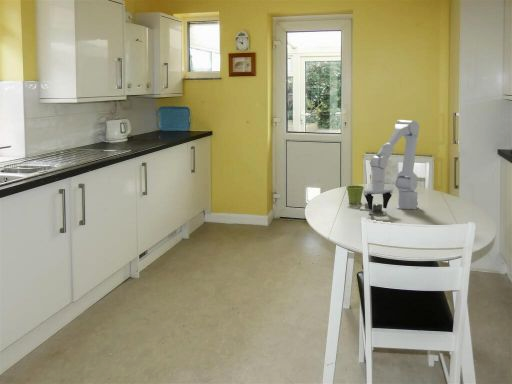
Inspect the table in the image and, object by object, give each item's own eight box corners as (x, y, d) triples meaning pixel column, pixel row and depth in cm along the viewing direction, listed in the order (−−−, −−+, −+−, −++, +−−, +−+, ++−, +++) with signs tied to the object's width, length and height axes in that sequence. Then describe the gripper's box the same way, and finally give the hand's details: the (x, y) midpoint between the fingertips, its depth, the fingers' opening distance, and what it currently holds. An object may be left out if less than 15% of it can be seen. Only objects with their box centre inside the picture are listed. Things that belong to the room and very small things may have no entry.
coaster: (386, 212, 275) (386, 211, 274) (385, 215, 267) (385, 214, 267) (369, 211, 277) (369, 210, 277) (368, 214, 269) (368, 213, 269)
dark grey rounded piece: (383, 213, 270) (383, 205, 270) (375, 213, 269) (375, 205, 269) (378, 210, 276) (378, 203, 275) (370, 211, 275) (370, 203, 274)
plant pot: (363, 205, 292) (364, 188, 290) (345, 204, 293) (345, 188, 292) (364, 201, 301) (364, 185, 299) (346, 200, 302) (346, 185, 301)
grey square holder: (377, 207, 285) (377, 201, 285) (376, 210, 278) (376, 204, 277) (361, 206, 287) (361, 200, 287) (359, 210, 280) (359, 204, 279)
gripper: (388, 178, 274) (387, 205, 277) (360, 180, 271) (360, 207, 273) (395, 181, 268) (394, 208, 270) (367, 182, 264) (366, 210, 267)
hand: (377, 208), depth 271 cm, fingers open, 7 cm apart
